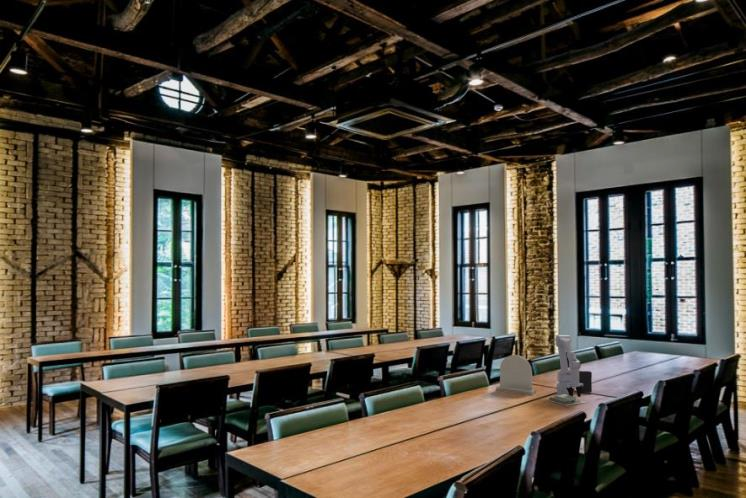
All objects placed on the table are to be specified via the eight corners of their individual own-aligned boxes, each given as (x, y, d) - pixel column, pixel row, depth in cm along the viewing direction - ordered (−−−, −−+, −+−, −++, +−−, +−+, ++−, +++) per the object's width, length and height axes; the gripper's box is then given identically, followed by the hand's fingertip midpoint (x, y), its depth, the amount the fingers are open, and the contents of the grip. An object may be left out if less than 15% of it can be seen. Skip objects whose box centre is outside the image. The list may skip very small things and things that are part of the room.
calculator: (590, 390, 398) (589, 371, 398) (592, 391, 393) (591, 372, 394) (575, 390, 399) (575, 370, 399) (577, 391, 394) (576, 371, 395)
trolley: (554, 400, 361) (554, 395, 361) (564, 399, 366) (564, 394, 366) (566, 403, 352) (565, 398, 353) (576, 402, 357) (576, 397, 357)
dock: (548, 400, 363) (548, 397, 363) (569, 397, 372) (569, 394, 372) (566, 405, 349) (566, 402, 349) (587, 402, 358) (587, 399, 358)
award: (536, 393, 386) (535, 356, 388) (532, 395, 379) (531, 357, 381) (500, 388, 403) (500, 352, 404) (496, 390, 396) (495, 354, 397)
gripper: (572, 379, 358) (572, 399, 357) (586, 378, 364) (587, 397, 364) (564, 377, 364) (564, 397, 363) (578, 376, 371) (578, 395, 370)
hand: (575, 397), depth 364 cm, fingers open, 7 cm apart
